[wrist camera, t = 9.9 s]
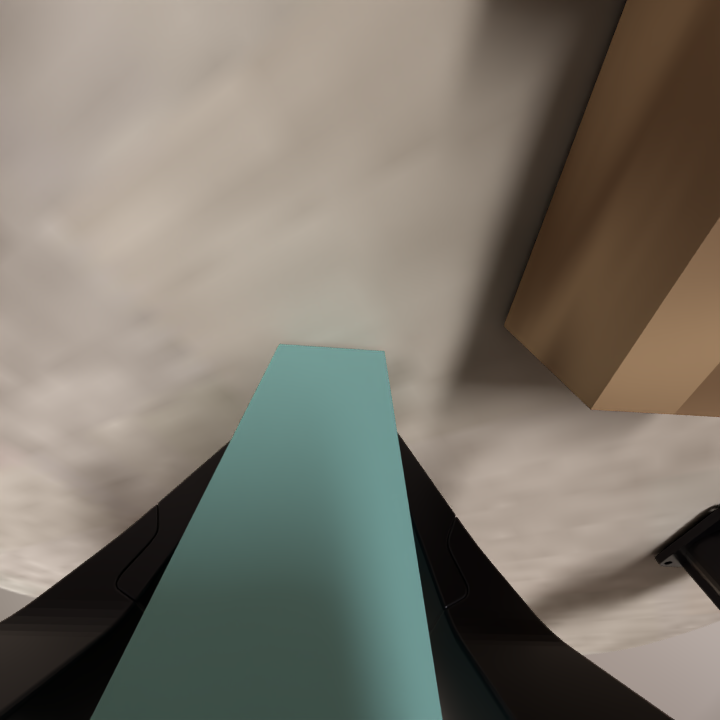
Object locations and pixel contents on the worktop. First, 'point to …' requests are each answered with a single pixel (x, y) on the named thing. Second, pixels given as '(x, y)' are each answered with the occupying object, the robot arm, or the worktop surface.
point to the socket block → (637, 226)
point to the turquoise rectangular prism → (292, 567)
